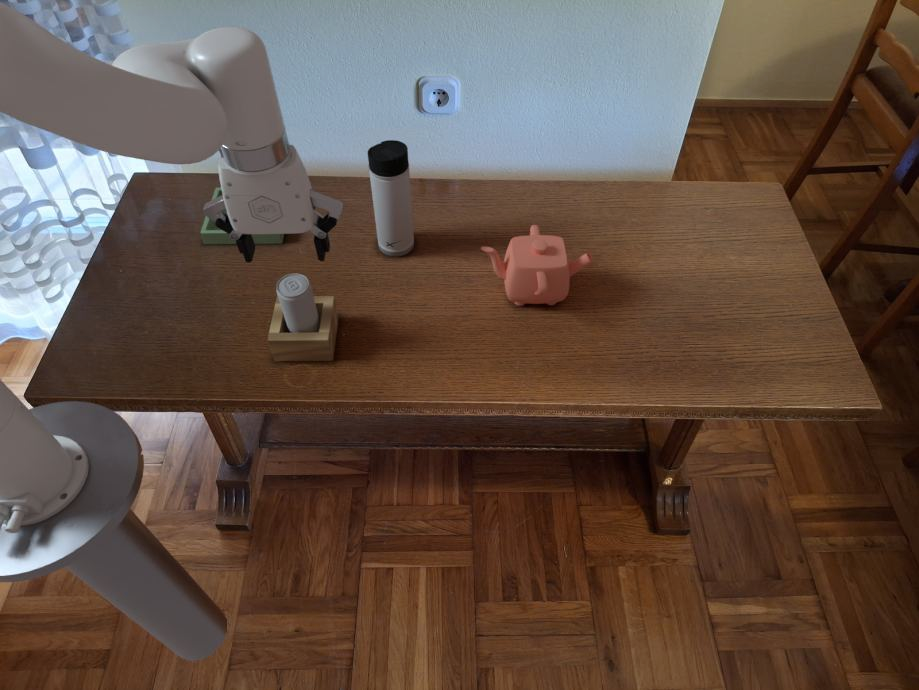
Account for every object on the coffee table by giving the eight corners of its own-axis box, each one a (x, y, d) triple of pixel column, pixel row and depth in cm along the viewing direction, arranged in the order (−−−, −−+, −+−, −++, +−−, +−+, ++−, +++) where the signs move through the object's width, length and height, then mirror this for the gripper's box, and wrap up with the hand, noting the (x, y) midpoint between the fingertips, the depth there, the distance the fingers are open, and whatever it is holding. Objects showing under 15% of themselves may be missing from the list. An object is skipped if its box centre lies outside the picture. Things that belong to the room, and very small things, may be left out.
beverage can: (299, 355, 99) (283, 302, 90) (286, 335, 102) (269, 281, 92) (328, 342, 101) (315, 288, 91) (314, 322, 103) (301, 268, 94)
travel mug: (394, 263, 112) (385, 165, 96) (371, 244, 115) (358, 145, 99) (422, 246, 114) (417, 148, 99) (398, 228, 117) (390, 130, 102)
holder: (333, 360, 99) (328, 339, 95) (274, 361, 98) (267, 340, 95) (338, 317, 104) (334, 295, 100) (283, 317, 104) (276, 296, 100)
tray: (282, 243, 115) (279, 232, 113) (204, 244, 115) (199, 233, 112) (292, 198, 123) (289, 186, 121) (219, 198, 122) (215, 187, 120)
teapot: (539, 251, 114) (545, 205, 106) (590, 289, 108) (600, 244, 100) (478, 289, 108) (479, 244, 100) (528, 332, 102) (533, 287, 95)
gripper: (170, 166, 72) (216, 275, 85) (327, 164, 72) (349, 273, 85) (186, 127, 77) (228, 236, 90) (334, 125, 77) (353, 234, 90)
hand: (287, 254), depth 88 cm, fingers open, 9 cm apart
